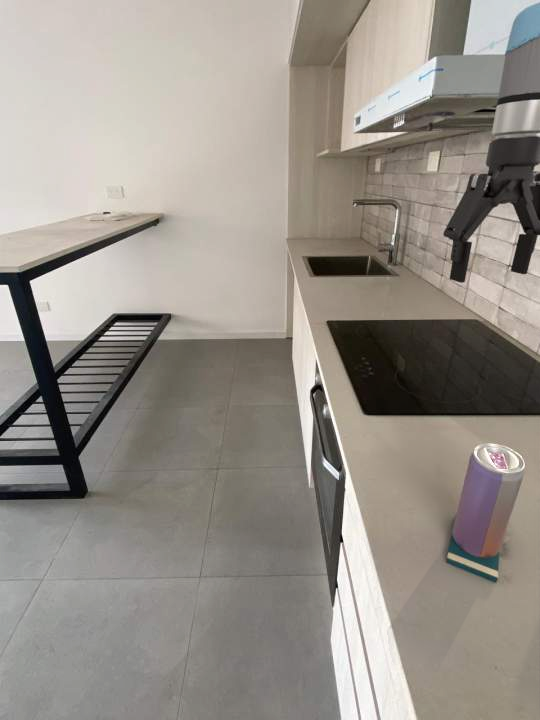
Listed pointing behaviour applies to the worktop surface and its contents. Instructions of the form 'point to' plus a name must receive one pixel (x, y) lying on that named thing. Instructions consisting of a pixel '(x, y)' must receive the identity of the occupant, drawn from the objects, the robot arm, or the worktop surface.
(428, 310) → the worktop surface
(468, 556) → the teal hardcover book
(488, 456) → the beverage can
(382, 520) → the worktop surface
